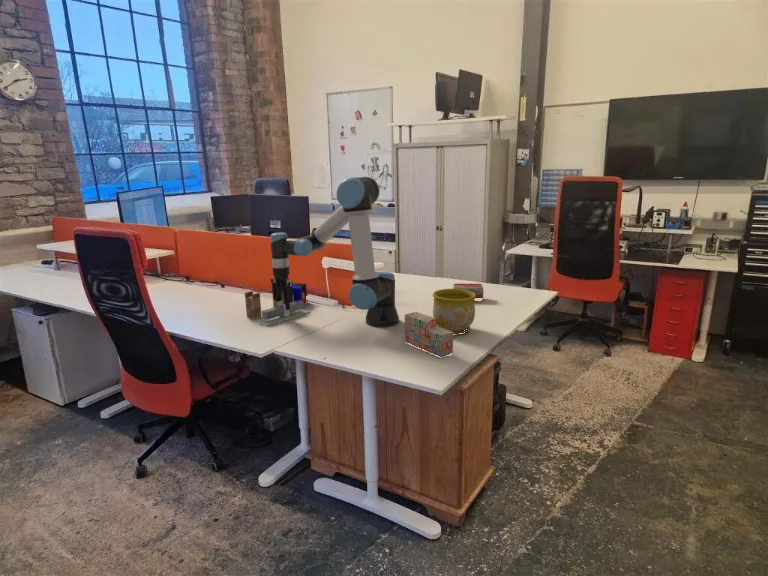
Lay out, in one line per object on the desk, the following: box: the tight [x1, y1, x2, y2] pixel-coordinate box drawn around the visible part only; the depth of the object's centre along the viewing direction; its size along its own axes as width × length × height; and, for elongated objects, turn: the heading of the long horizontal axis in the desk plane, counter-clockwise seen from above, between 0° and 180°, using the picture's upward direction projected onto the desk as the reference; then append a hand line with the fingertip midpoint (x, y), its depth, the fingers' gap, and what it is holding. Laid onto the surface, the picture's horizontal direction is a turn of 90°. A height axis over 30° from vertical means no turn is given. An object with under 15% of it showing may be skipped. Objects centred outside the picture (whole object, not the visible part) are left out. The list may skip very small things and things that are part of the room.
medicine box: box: [452, 283, 484, 299], centre depth 258 cm, size 15×8×8 cm, turn 86°
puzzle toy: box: [290, 282, 308, 305], centre depth 253 cm, size 10×10×10 cm
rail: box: [261, 300, 305, 320], centre depth 231 cm, size 22×4×4 cm, turn 141°
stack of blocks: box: [404, 311, 454, 357], centre depth 190 cm, size 21×6×12 cm, turn 37°
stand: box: [244, 286, 286, 320], centre depth 238 cm, size 6×20×12 cm, turn 141°
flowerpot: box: [432, 288, 476, 334], centre depth 210 cm, size 18×18×16 cm
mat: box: [255, 309, 311, 327], centre depth 232 cm, size 8×26×1 cm, turn 141°
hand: (283, 315), depth 232 cm, fingers open, 4 cm apart
